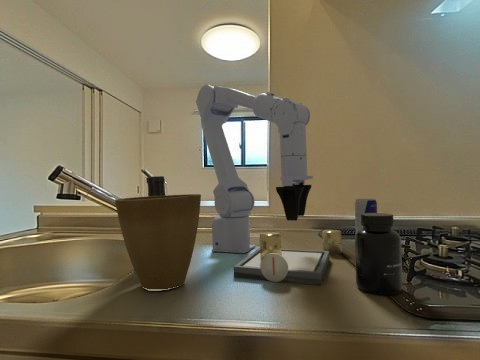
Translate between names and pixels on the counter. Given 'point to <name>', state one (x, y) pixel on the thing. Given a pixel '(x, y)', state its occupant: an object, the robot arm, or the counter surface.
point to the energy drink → (363, 210)
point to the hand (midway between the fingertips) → (295, 217)
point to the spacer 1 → (270, 244)
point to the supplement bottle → (378, 255)
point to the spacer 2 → (332, 241)
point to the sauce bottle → (156, 186)
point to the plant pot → (160, 236)
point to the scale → (281, 269)
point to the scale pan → (293, 260)
